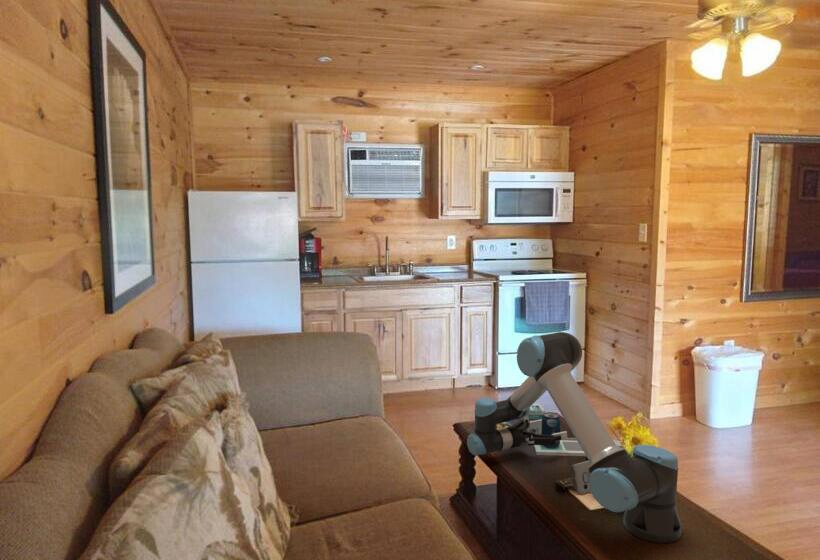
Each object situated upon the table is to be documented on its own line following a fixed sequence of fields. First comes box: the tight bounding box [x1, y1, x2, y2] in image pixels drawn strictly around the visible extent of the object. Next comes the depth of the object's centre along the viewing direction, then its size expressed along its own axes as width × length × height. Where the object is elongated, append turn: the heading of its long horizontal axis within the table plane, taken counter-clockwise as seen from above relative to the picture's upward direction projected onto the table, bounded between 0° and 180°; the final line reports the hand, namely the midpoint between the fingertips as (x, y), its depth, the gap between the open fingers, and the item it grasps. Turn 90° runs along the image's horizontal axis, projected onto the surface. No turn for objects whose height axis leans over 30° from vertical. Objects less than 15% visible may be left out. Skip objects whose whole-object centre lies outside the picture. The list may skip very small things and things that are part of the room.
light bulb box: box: [523, 401, 546, 437], centre depth 231 cm, size 11×7×11 cm, turn 179°
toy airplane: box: [496, 421, 512, 429], centre depth 226 cm, size 9×9×6 cm
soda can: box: [541, 411, 562, 448], centre depth 214 cm, size 7×7×12 cm
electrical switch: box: [569, 460, 591, 495], centre depth 183 cm, size 9×5×9 cm, turn 116°
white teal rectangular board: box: [531, 436, 586, 457], centre depth 215 cm, size 14×20×1 cm
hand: (554, 428), depth 215 cm, fingers open, 13 cm apart
